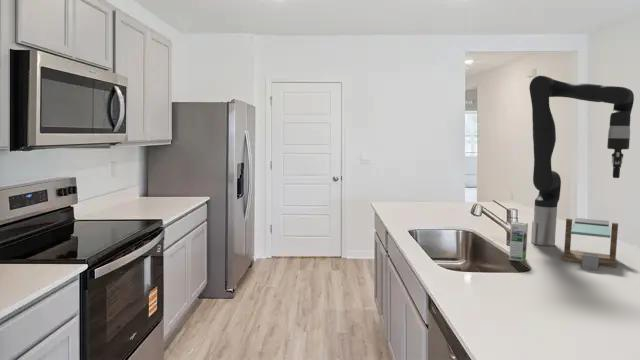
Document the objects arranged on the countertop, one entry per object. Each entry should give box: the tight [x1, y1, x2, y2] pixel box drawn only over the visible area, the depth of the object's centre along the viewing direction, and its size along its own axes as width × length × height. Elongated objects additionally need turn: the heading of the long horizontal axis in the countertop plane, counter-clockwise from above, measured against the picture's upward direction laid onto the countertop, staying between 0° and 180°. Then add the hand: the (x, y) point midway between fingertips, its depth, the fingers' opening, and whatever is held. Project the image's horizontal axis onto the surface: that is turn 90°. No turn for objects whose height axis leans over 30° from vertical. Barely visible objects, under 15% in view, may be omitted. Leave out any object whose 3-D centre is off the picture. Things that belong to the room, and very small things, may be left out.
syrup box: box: [508, 221, 529, 262], centre depth 184 cm, size 6×6×14 cm
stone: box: [581, 251, 599, 271], centre depth 174 cm, size 5×5×5 cm
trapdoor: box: [571, 217, 611, 239], centre depth 188 cm, size 20×13×4 cm, turn 149°
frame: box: [561, 218, 619, 269], centre depth 187 cm, size 19×18×14 cm
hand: (615, 177), depth 193 cm, fingers open, 8 cm apart
